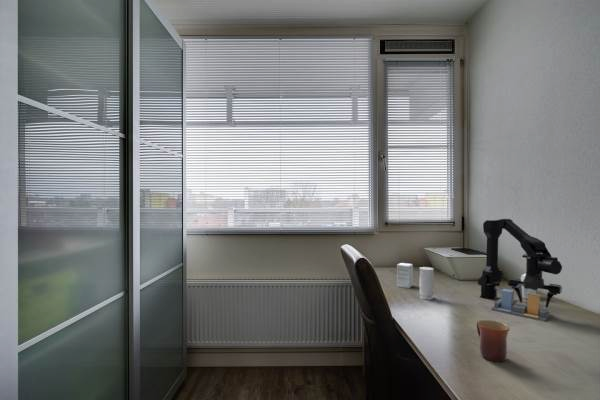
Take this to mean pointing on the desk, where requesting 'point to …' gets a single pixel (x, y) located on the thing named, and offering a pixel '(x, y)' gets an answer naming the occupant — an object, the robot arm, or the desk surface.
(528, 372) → the desk surface
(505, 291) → the blue plug
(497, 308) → the grey slotted base
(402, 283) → the supplement box
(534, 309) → the tan rectangular box
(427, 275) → the candle
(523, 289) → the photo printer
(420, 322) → the desk surface
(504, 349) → the mug
